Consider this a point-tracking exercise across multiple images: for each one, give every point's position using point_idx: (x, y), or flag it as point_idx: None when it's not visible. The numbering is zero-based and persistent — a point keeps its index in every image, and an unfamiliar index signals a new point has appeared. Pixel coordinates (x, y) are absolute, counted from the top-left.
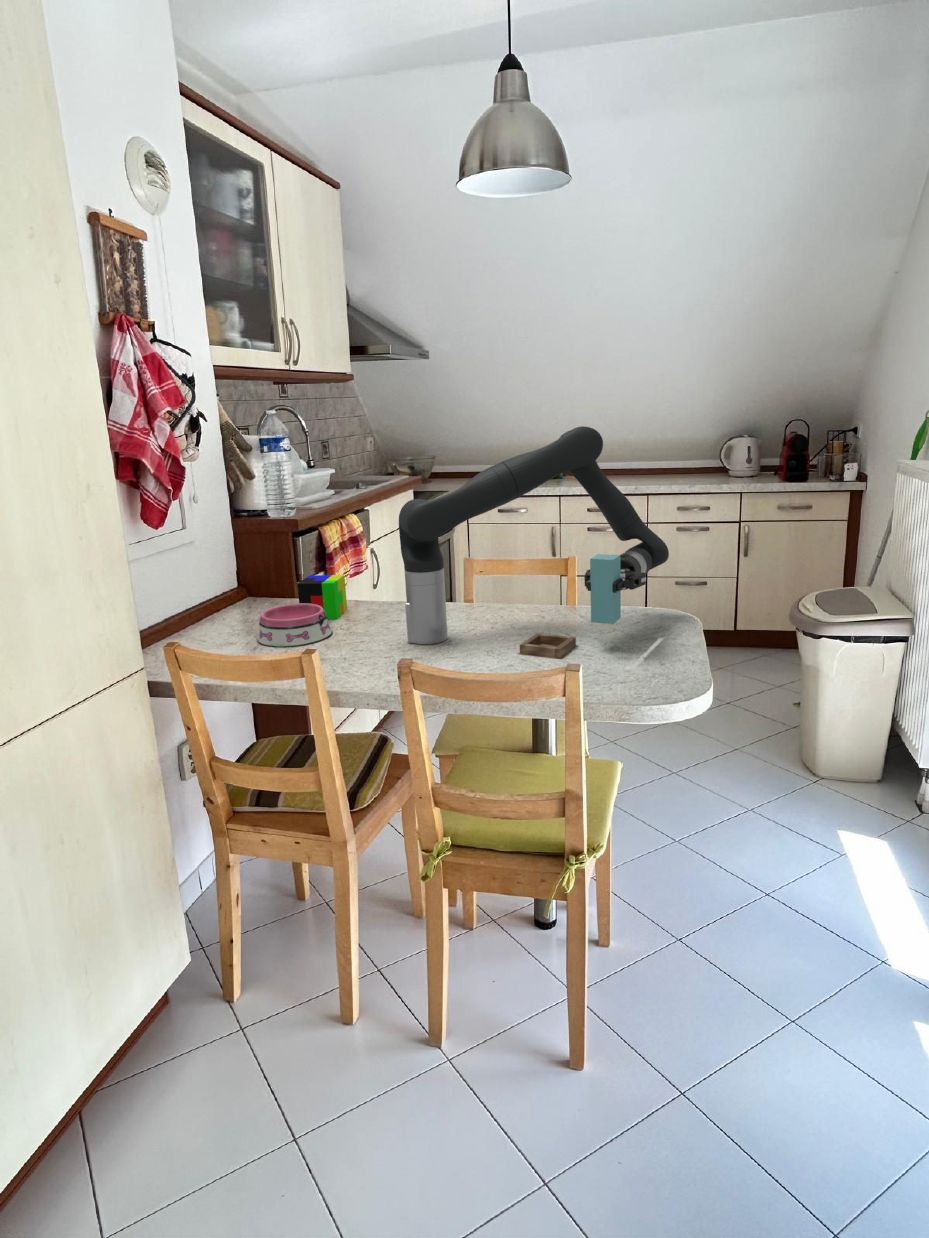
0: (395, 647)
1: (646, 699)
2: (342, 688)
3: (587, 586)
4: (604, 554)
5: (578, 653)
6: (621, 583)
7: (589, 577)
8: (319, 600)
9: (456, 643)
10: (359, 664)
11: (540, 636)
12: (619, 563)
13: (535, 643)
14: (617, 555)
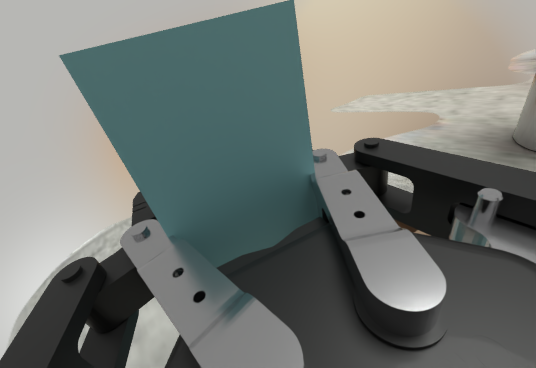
0: (507, 116)
1: (103, 246)
2: (361, 97)
3: None
4: (236, 13)
5: None
6: (133, 209)
7: (359, 161)
8: None
9: (513, 161)
10: (432, 100)
11: (419, 231)
12: (111, 131)
13: (397, 222)
14: (91, 48)
